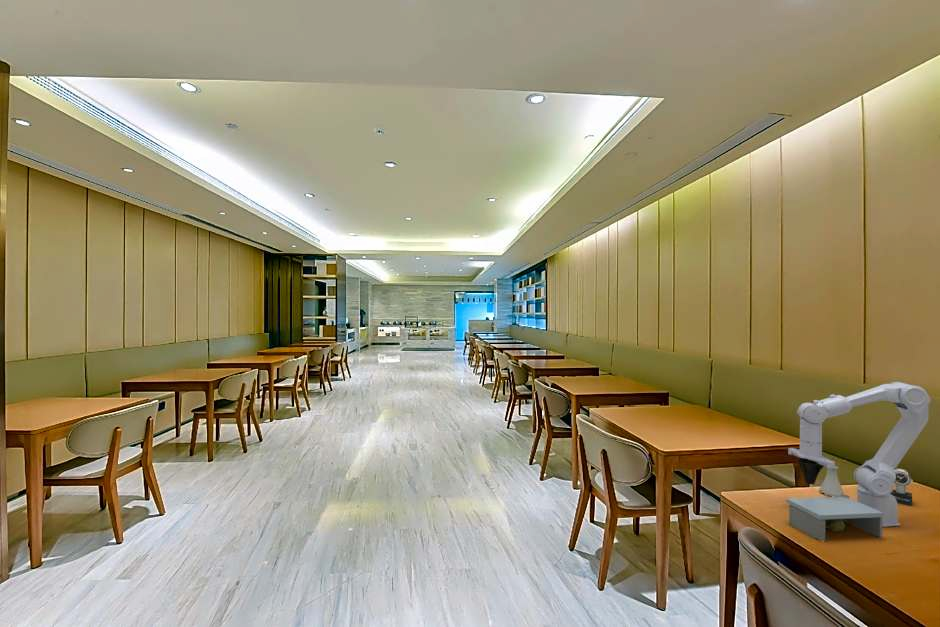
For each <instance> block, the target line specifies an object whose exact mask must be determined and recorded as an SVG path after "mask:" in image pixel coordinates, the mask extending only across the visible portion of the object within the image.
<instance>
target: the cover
mask: <svg viewBox="0 0 940 627" xmlns="http://www.w3.org/2000/svg"><path fill="white" fill-rule="evenodd" d="M785 499H786V500H785V503H787V504H788V505H792V506H794V507H796V508H798V509H800V510H802V511H804V512H806V513H808V514H810V515H812V516H814V517H816V518H818V519H820V520H825V519H849V518H873V517H884V513H883V512H880V511H878V510H876V509H873V508H871V507H869V506H866V505H864V504H862V503H859V502H857V500H855V499H852V498H850V496H849V495H847V494H844V495H843V494H841V497H831V496H821V497H820V496H815V497H792V498H791V497H790V498H789V497H787V498H785Z"/></svg>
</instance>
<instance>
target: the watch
mask: <svg viewBox="0 0 940 627" xmlns="http://www.w3.org/2000/svg"><path fill="white" fill-rule="evenodd" d="M895 475H896V479H895V481H894V483H893V487H895V489H894V488H893V490H892V492H891V493H890V494H892V495H893V496H894V497H895V499H896V501H897V504H900V505H905V506H910V507H912V506H913V493H912V492H907V490H908V489H909V486H910V484H911V483H913V482H914V481H913V479H912V478H911V476H910V475H909V472H908V471H907V470H906V469H902V468H895Z"/></svg>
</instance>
